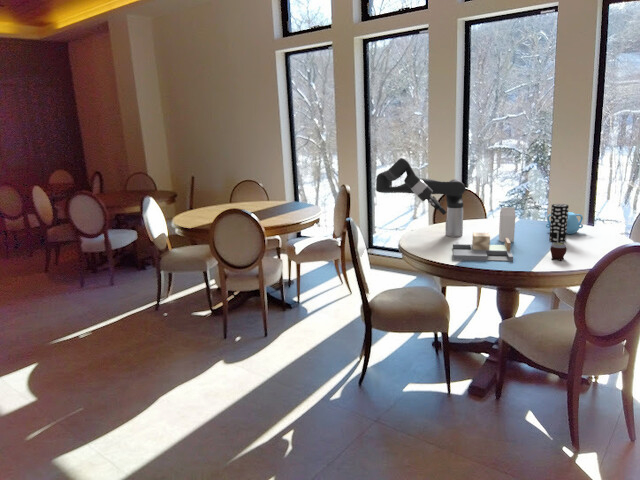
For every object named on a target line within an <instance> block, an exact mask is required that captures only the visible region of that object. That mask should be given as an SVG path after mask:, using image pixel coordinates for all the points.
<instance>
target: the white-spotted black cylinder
mask: <svg viewBox="0 0 640 480" xmlns="http://www.w3.org/2000/svg"><path fill="white" fill-rule="evenodd" d="M569 207H570V206H569V204H564V203H554V204H551V211H550V214H551V216H550V221H551V222H550V228H549V239H548V240H549V242H552V243H554V242H557V232H558V234H559V237H558V242H561V243H566V241H567V233H566V232H567V219H568V212H569V211H568V210H569Z"/></svg>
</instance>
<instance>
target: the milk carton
mask: <svg viewBox="0 0 640 480" xmlns="http://www.w3.org/2000/svg"><path fill="white" fill-rule="evenodd" d="M515 227H516V210H515V206H513V207H512V206H511V207H510V206H509V207H507V206H504V207H503V206H502V207H500V213H499V227H498V228H499V229H498V230H499V231H498V232H499V233H498V240H499V241H500V242H503V243H505V238H508V239H509V241H510V243H511V242H515Z"/></svg>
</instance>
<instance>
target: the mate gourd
mask: <svg viewBox="0 0 640 480" xmlns="http://www.w3.org/2000/svg"><path fill="white" fill-rule="evenodd" d="M558 237H559V234H558V232H557V242H552V244H551V245H550V250H549V251H550V254H551V261H556V260H557V261H560V262H562V261H563V260H564V259H565V258H564V257H565V255H566V253H567V250H568V248H567V245H566V243H565V242H562V243H561V242H558Z"/></svg>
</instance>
